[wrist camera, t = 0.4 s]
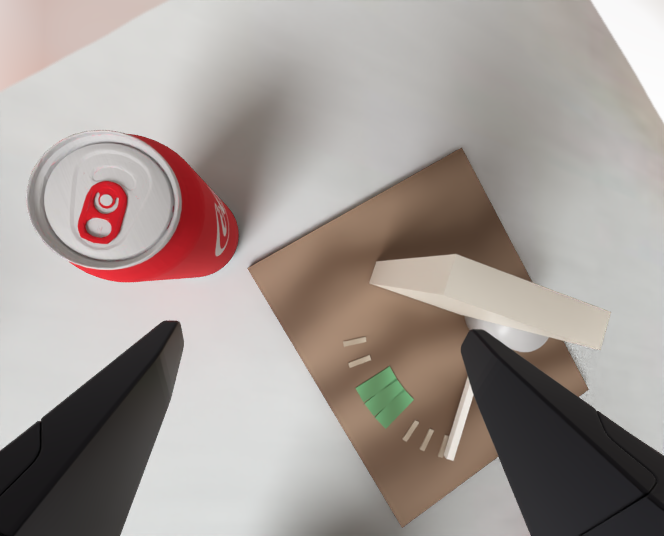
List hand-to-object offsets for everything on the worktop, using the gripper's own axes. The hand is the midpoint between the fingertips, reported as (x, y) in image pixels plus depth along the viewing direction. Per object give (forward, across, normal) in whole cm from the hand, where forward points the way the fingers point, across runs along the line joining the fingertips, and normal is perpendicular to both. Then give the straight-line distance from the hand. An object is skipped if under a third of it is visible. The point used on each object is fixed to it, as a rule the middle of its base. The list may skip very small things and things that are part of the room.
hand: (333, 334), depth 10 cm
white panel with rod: (+9, -10, +12) cm, 18 cm away
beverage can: (+15, +8, +5) cm, 18 cm away
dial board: (+11, -11, +11) cm, 19 cm away
